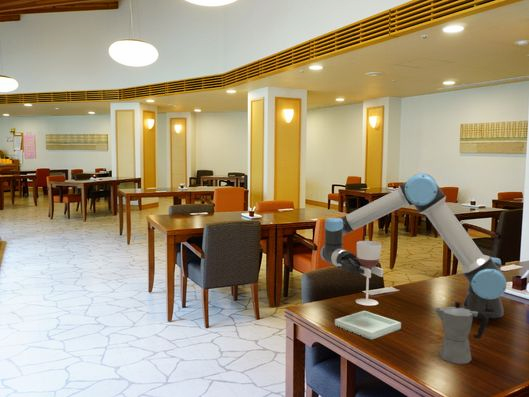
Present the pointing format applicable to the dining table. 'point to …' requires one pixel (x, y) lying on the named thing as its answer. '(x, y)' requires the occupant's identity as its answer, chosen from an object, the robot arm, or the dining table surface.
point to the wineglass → (368, 263)
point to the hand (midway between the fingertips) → (376, 273)
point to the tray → (368, 324)
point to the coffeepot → (458, 332)
